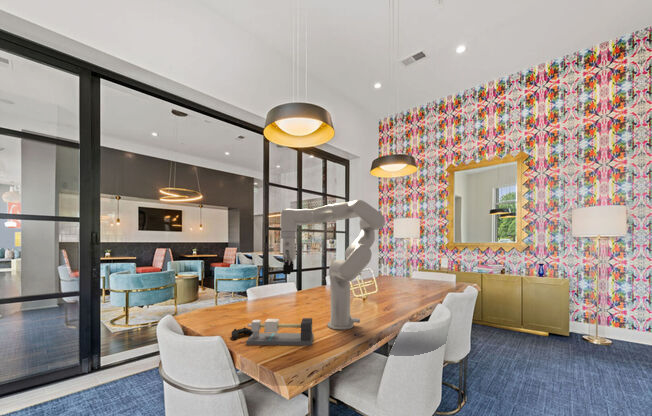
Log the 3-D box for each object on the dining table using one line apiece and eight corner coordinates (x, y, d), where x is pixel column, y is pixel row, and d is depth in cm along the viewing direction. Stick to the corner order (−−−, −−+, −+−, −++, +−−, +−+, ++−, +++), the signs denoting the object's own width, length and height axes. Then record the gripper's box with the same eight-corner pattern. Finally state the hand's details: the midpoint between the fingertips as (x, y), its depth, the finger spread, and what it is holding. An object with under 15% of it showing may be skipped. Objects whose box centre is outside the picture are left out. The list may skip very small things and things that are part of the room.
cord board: (313, 336, 123) (313, 317, 124) (311, 345, 113) (311, 324, 114) (250, 336, 124) (251, 316, 125) (243, 344, 114) (244, 323, 115)
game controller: (234, 339, 118) (230, 326, 122) (230, 346, 121) (227, 333, 124) (256, 334, 124) (252, 322, 128) (252, 341, 127) (248, 329, 131)
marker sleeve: (278, 329, 121) (278, 318, 122) (276, 332, 117) (276, 321, 117) (266, 329, 121) (267, 318, 122) (264, 332, 117) (264, 321, 117)
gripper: (294, 235, 126) (294, 275, 124) (299, 235, 143) (298, 270, 141) (277, 235, 126) (276, 275, 124) (284, 235, 143) (283, 270, 141)
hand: (288, 272), depth 132 cm, fingers open, 9 cm apart
